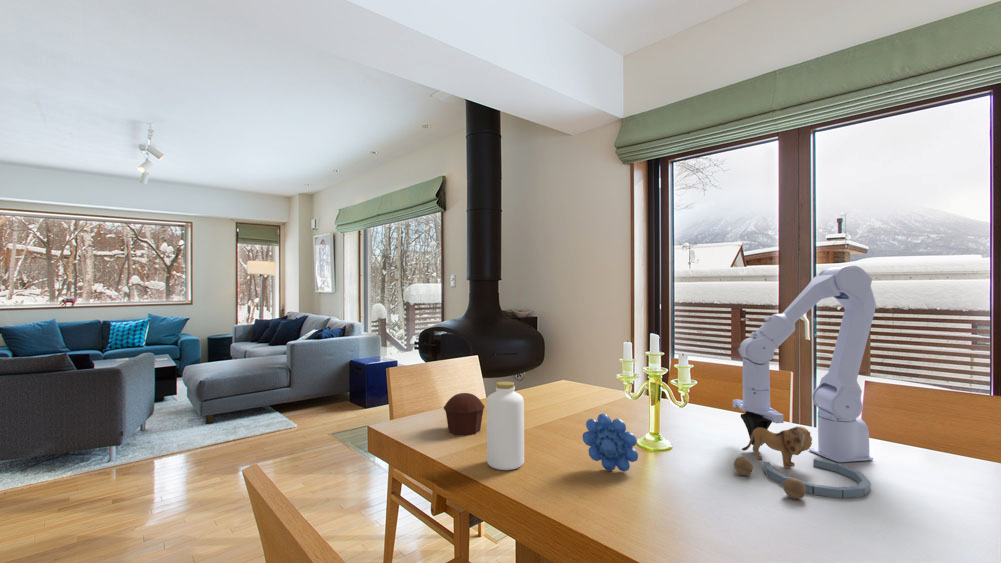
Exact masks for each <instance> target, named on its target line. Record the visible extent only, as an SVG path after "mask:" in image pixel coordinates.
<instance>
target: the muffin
mask: <svg viewBox="0 0 1001 563" xmlns="http://www.w3.org/2000/svg"><path fill="white" fill-rule="evenodd" d="M485 408H486V406H485V405H484V403H483V402H482V400H481V399H480V398H479V397H478V396H476V395H475V394H473V393H468V392H461V393H456V394H455V395H452V397H451V398H449V399H448V400H447V402H446V403H445V405H444V406H443V410H444V411H445V416H446V423H447V429H448V433H449V434H450V433H451V435H453V436H462V435H463V436H465V437H466V436H471V435H472V434H473V435H476V434H478V433H480V432H481V427H482V423H483V422H482V421H483V414H484V409H485ZM479 431H480V432H479ZM477 432H478V433H477Z"/></svg>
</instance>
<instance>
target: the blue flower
mask: <svg viewBox="0 0 1001 563" xmlns="http://www.w3.org/2000/svg"><path fill="white" fill-rule="evenodd" d="M585 426H586V429H587V431H585V432H583V434H582V441H583V442H584V444H585V445H586V446H588V447H589V448H588V456H589V457H590V459H591V460H592V461H595V462H599V461H600V463H601V465H602V467H603V469H604V470H606V471H609V472H612V471H615V469H616V468H617V469H618V470H619V471H621V472H627V471H629V469H630V467H631V465H630V462H631V463H635V462H636V461H638V459H639V454H638V451H637V450H636V449H635V448H634V447H635V446H636V445H637V441H638V440H637V437H636V436H635V435H634V433H633V432H630V431H627V426H626V423H625V422H624V421H623V420H622V419H620V418H614V419H612V418H610V416H609V415H607V414H605V413H600V414H598V416H597V419H593V418H589V419H587V420H586V422H585Z"/></svg>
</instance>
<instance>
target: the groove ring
mask: <svg viewBox="0 0 1001 563" xmlns="http://www.w3.org/2000/svg"><path fill="white" fill-rule="evenodd" d="M812 462H813V465H812V466H813V467H816V468H820V469H824V470H827V471H831V472H836V473H838V474H841V475H842V476H845V477H848V478H850V479H851V480H854V481H855V482H856V483H857V485H850V486H849V485H848V486H839V487H838V486H830V485H821V484H816V483H810V482H807V481H803V480H800V481H801V482H802V483H803V484H804V485H805V488H806V494H811V495H815V496H821V497H830V498H837V499H849V498H851V499H852V498H854V499H855V498H863V497H866V496H867V494H868V493H870V491H871V488H872V487H871V486H872V484H871V481H870V479H869V478H868V477H866V476H865V475H864V473H862V472H861V471H858V470H856V469H854V468H851V467H849V466H847V465H844V464H841V463H839V462H835V461H834V462H833V461H830V460H826V459H821V458H817V457H814V458H813V460H812ZM762 464H763V468H762V469H763V470H764V472H765V475H766V476H767V477H768V478H769V479H771V480H773V481H775V482H777V483H779V484H781V485H782V486H783V483H784V481H785V480H786V479H787V478H790V477H789V476H787V475H785V474H784V473H781V472H780V471H777V470H776V469H774V467H773V466H772V464H771V462H770V461H769V462H768V461H763V462H762Z"/></svg>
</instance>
